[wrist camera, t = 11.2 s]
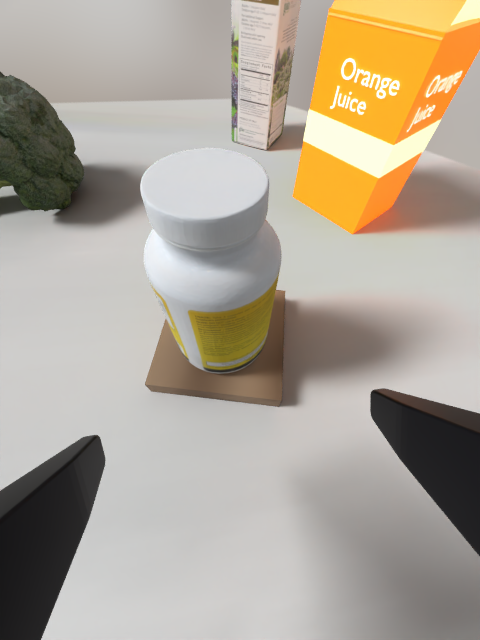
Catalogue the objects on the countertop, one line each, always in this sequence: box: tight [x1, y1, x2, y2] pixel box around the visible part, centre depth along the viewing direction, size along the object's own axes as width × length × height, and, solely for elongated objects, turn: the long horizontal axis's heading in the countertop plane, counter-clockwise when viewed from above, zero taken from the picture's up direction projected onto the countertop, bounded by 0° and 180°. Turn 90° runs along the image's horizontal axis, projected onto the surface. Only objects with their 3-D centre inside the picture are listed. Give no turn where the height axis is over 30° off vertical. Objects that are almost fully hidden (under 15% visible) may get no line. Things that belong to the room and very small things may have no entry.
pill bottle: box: [140, 148, 281, 374], centre depth 14 cm, size 6×6×12 cm
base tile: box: [145, 290, 285, 407], centre depth 20 cm, size 9×9×2 cm
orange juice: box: [293, 0, 480, 234], centre depth 22 cm, size 8×9×20 cm
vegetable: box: [0, 72, 84, 211], centre depth 26 cm, size 12×13×15 cm
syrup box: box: [232, 0, 301, 150], centre depth 32 cm, size 6×6×14 cm
